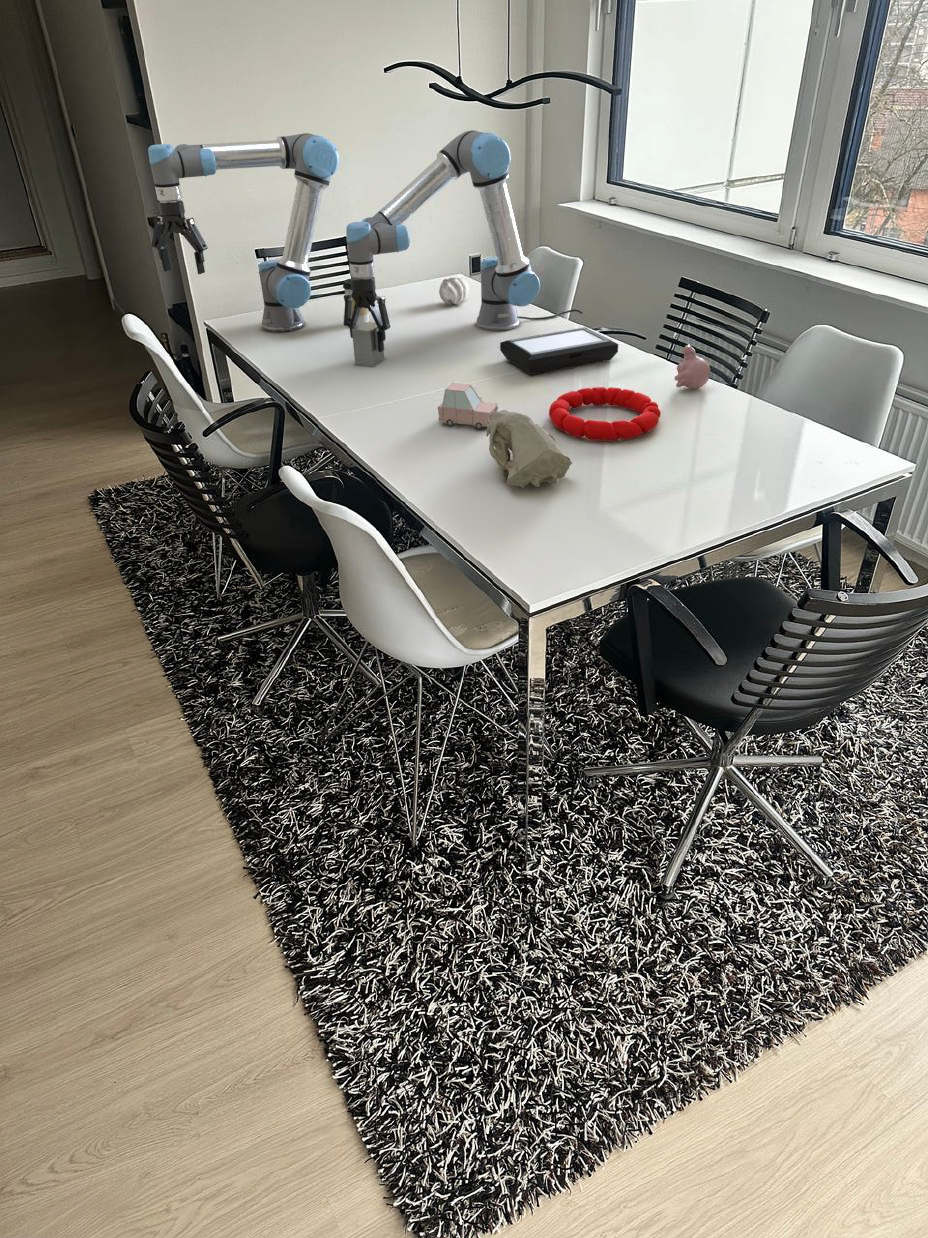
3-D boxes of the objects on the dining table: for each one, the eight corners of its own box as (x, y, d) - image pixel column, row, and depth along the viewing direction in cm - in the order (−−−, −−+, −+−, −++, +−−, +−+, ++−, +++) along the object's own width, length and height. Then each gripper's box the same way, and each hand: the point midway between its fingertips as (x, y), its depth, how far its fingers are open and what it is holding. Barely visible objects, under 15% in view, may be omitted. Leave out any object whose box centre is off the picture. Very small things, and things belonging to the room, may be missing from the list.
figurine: (665, 387, 264) (669, 347, 257) (693, 380, 268) (698, 340, 261) (686, 396, 257) (690, 355, 250) (714, 388, 262) (720, 348, 255)
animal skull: (496, 517, 219) (521, 479, 201) (463, 429, 225) (484, 384, 207) (557, 503, 225) (586, 465, 206) (523, 417, 231) (549, 373, 212)
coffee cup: (372, 326, 323) (368, 283, 314) (345, 327, 323) (340, 284, 315) (374, 318, 331) (371, 276, 322) (348, 319, 331) (344, 277, 323)
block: (355, 364, 289) (351, 329, 283) (367, 356, 295) (364, 321, 289) (372, 366, 287) (369, 330, 280) (384, 358, 293) (381, 323, 287)
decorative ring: (589, 435, 224) (684, 402, 234) (527, 398, 247) (617, 369, 256) (589, 461, 229) (683, 427, 238) (529, 422, 251) (617, 393, 260)
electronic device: (528, 357, 271) (500, 339, 286) (528, 377, 274) (500, 358, 289) (618, 341, 281) (586, 325, 296) (617, 360, 284) (585, 343, 300)
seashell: (432, 303, 345) (431, 277, 340) (465, 297, 351) (465, 271, 345) (444, 310, 338) (443, 282, 332) (478, 303, 343) (478, 276, 338)
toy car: (488, 432, 240) (488, 396, 234) (436, 426, 244) (434, 390, 239) (499, 419, 247) (499, 384, 241) (448, 413, 252) (447, 379, 246)
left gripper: (130, 200, 279) (146, 271, 291) (195, 204, 270) (209, 277, 282) (146, 196, 285) (161, 266, 297) (210, 200, 276) (223, 271, 288)
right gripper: (326, 277, 277) (335, 349, 290) (387, 282, 270) (392, 356, 282) (338, 271, 282) (346, 342, 295) (398, 276, 275) (403, 349, 288)
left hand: (184, 271), depth 290 cm, fingers open, 13 cm apart
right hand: (369, 349), depth 289 cm, fingers open, 8 cm apart
